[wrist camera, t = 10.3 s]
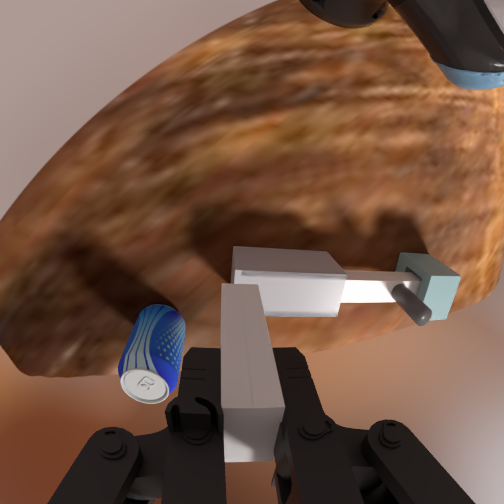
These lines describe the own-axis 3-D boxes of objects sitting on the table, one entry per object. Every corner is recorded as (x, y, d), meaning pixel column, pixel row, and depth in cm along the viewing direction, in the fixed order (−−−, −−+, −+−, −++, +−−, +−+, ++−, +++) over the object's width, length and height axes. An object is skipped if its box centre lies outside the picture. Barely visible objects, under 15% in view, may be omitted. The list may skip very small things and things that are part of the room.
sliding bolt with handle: (304, 268, 44) (327, 307, 33) (431, 272, 47) (469, 303, 36) (300, 290, 45) (321, 333, 35) (425, 291, 48) (461, 323, 37)
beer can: (192, 337, 51) (184, 405, 36) (148, 343, 51) (129, 409, 36) (178, 296, 48) (162, 360, 33) (132, 304, 48) (103, 366, 33)
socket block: (400, 252, 49) (431, 275, 39) (429, 254, 49) (461, 276, 40) (389, 293, 51) (416, 321, 42) (417, 292, 52) (445, 319, 43)
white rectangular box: (233, 245, 46) (235, 269, 38) (327, 251, 47) (346, 274, 39) (230, 285, 48) (231, 315, 40) (320, 288, 50) (336, 316, 41)
